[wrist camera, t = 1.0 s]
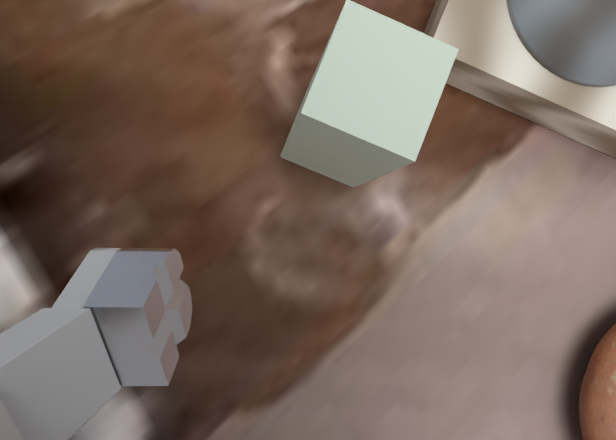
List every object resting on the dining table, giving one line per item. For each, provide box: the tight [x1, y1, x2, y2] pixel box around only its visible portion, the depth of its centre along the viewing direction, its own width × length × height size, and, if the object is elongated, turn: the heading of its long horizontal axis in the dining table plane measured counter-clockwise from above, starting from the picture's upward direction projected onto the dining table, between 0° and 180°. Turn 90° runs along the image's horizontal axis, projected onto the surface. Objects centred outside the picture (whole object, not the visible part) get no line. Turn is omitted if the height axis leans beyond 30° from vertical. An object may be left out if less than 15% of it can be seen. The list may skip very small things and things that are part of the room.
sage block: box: [280, 0, 459, 188], centre depth 30 cm, size 5×5×13 cm
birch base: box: [424, 0, 616, 158], centre depth 36 cm, size 16×14×5 cm
